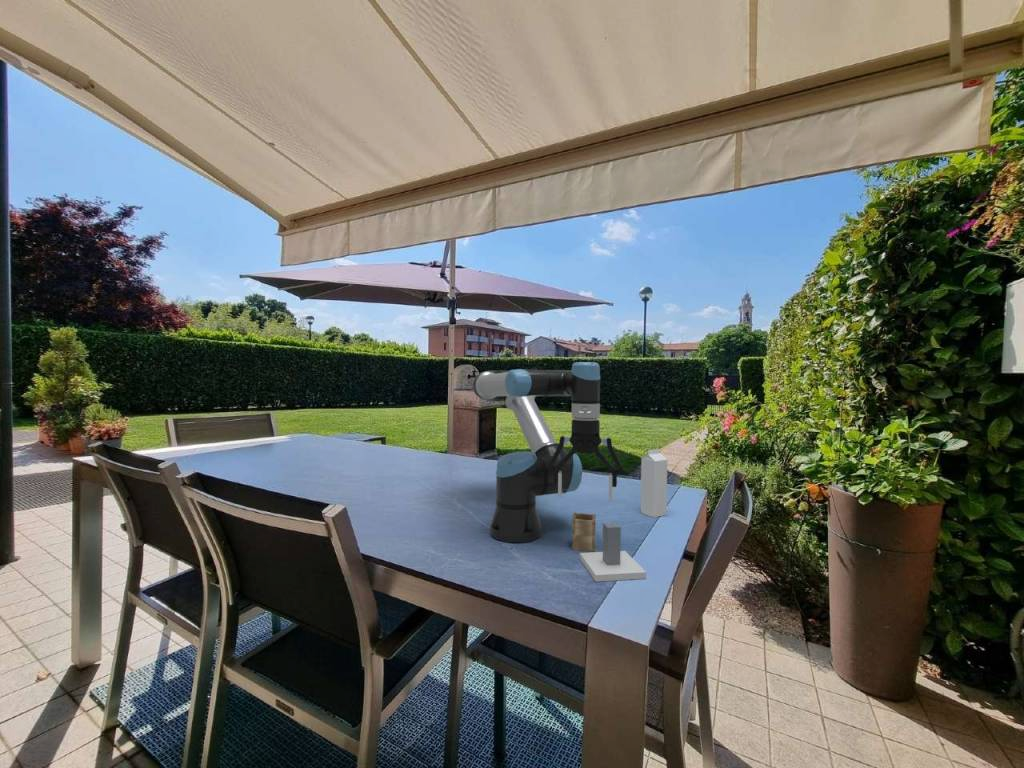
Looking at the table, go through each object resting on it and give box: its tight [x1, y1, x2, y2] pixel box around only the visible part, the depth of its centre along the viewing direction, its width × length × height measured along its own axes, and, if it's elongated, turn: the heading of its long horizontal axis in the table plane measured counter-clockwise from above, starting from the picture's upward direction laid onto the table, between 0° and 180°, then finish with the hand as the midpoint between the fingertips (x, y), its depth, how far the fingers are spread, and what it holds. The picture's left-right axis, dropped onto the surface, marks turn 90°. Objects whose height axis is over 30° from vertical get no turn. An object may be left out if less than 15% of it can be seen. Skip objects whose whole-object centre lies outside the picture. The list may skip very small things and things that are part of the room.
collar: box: [571, 512, 597, 552], centre depth 114 cm, size 6×6×8 cm
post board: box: [579, 522, 647, 583], centre depth 101 cm, size 12×12×10 cm
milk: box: [640, 448, 668, 519], centre depth 142 cm, size 6×6×22 cm
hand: (584, 497), depth 114 cm, fingers open, 13 cm apart
